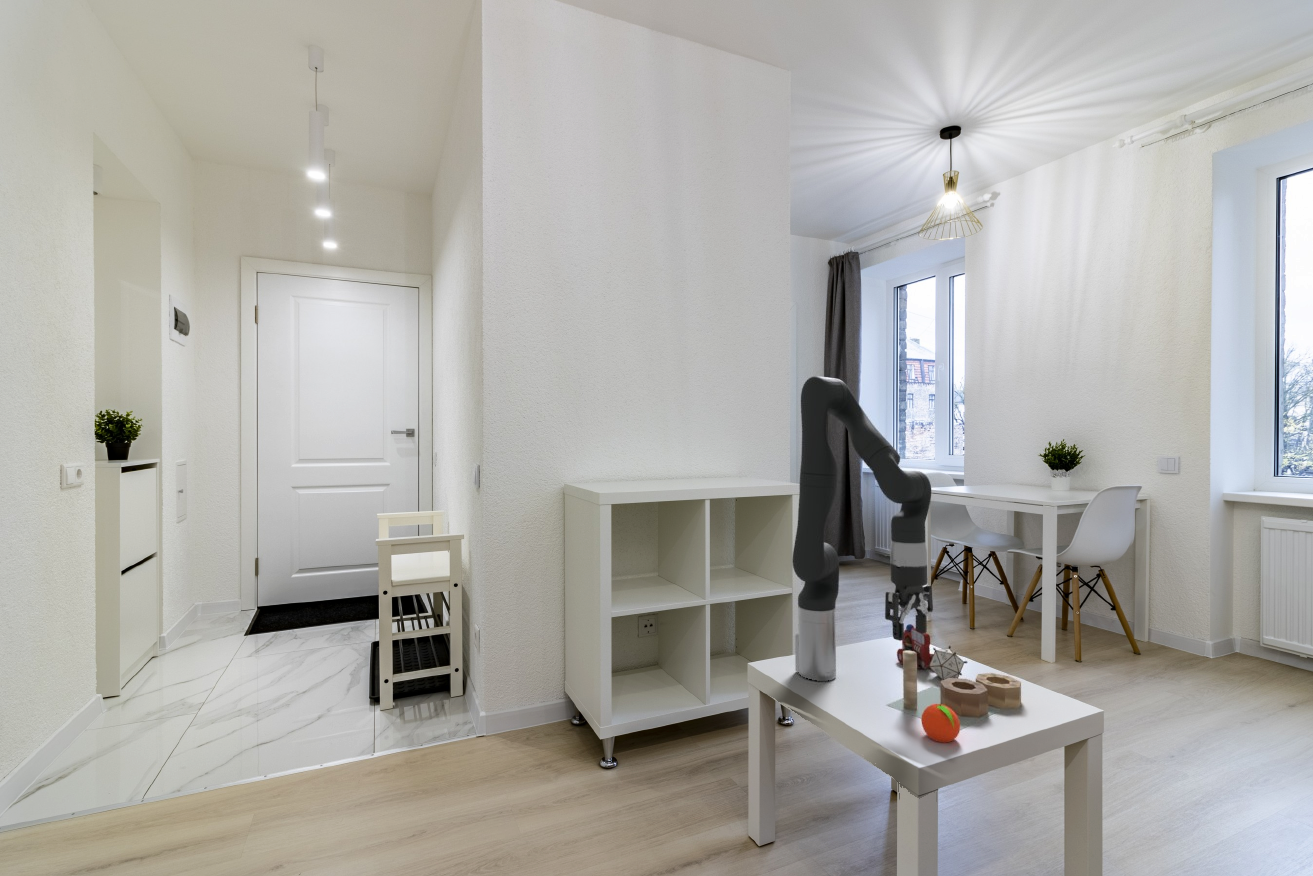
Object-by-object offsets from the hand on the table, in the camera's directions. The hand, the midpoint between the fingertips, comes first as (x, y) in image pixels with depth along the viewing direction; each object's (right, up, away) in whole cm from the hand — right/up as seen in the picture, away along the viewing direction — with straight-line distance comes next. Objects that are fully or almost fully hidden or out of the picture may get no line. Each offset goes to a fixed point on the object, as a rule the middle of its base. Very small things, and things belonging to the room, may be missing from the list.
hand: (910, 636), depth 136 cm
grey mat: (+7, -16, 0) cm, 18 cm away
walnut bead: (+11, -16, -1) cm, 19 cm away
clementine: (0, -16, -15) cm, 22 cm away
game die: (+16, -17, +17) cm, 29 cm away
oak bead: (+21, -16, +4) cm, 27 cm away
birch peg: (0, -16, 0) cm, 16 cm away
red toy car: (+13, -17, +27) cm, 34 cm away
